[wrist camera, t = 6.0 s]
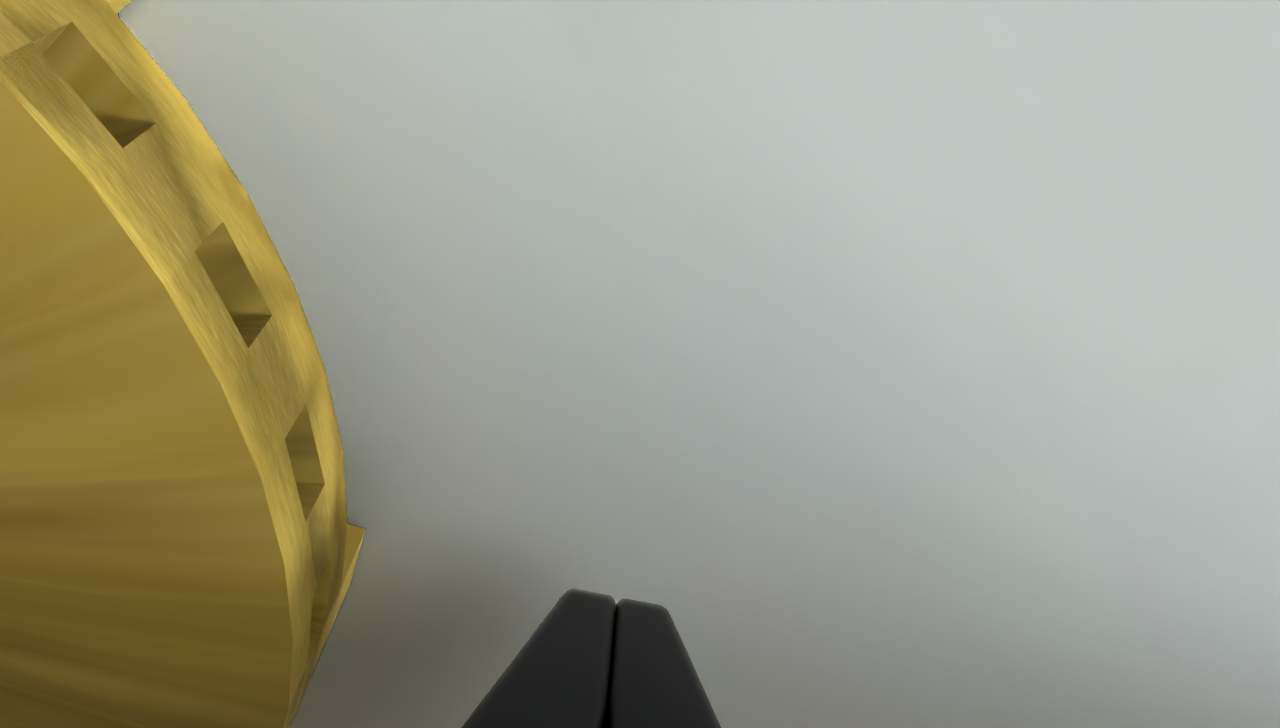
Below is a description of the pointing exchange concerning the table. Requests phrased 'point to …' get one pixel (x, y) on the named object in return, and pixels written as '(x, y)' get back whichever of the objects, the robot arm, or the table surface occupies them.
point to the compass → (149, 407)
